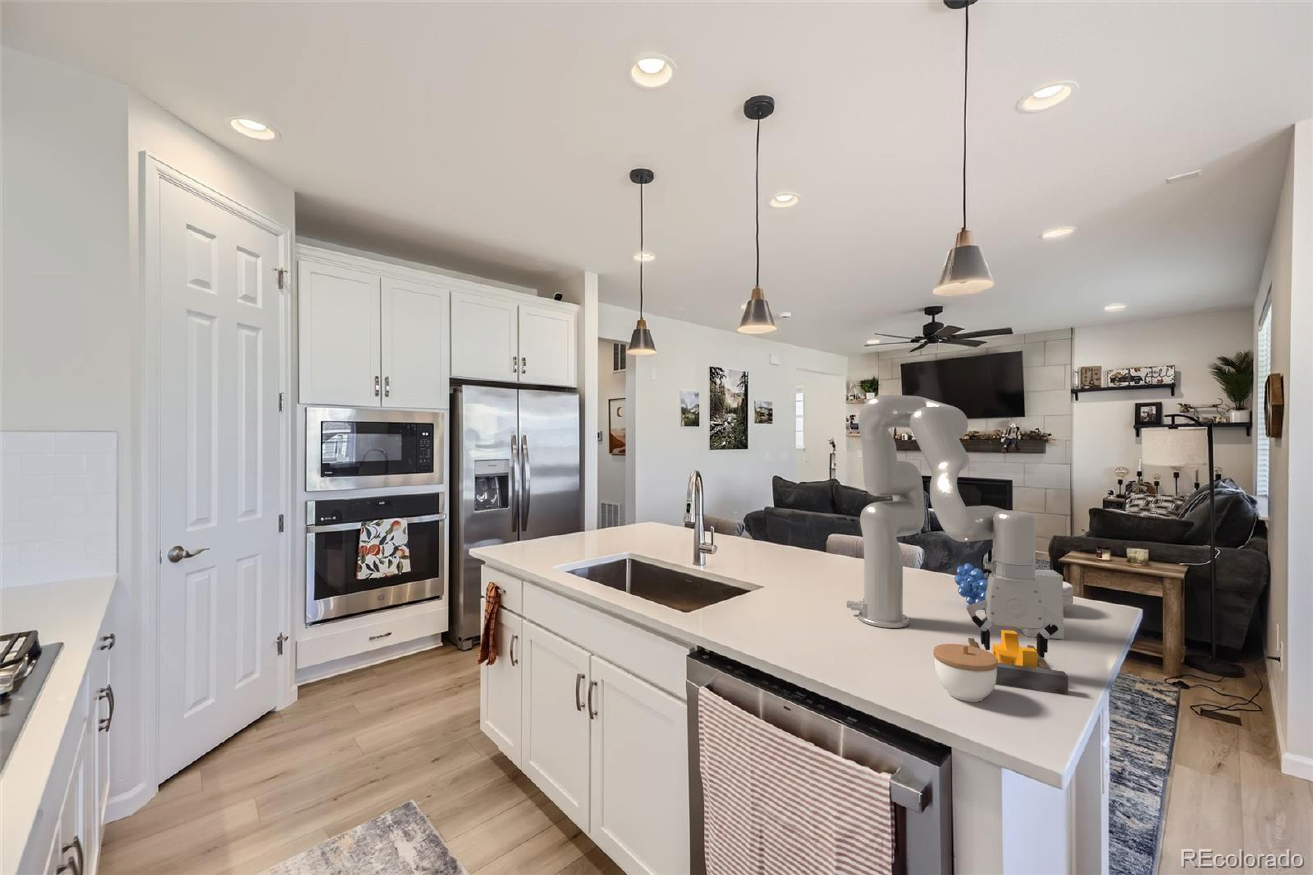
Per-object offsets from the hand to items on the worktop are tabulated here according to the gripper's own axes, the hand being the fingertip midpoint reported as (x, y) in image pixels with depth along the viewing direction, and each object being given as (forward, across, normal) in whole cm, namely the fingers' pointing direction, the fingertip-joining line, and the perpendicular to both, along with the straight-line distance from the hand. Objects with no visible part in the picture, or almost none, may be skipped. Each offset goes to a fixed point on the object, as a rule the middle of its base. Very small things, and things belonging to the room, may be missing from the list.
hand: (1013, 651), depth 115 cm
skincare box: (+4, +11, +27) cm, 29 cm away
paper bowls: (+4, +16, +51) cm, 54 cm away
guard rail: (+4, 0, +3) cm, 5 cm away
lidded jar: (+4, -11, -16) cm, 20 cm away
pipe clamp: (+4, 0, 0) cm, 4 cm away
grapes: (+4, -2, +46) cm, 46 cm away
